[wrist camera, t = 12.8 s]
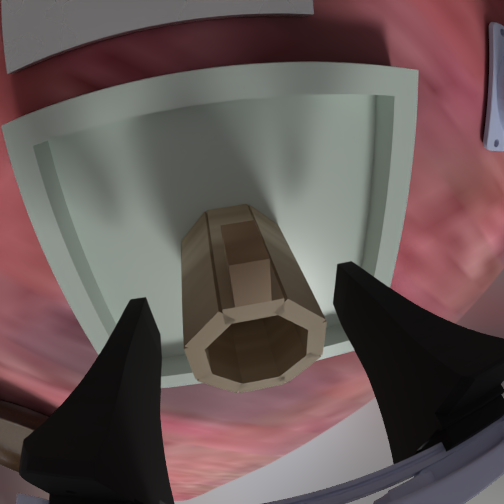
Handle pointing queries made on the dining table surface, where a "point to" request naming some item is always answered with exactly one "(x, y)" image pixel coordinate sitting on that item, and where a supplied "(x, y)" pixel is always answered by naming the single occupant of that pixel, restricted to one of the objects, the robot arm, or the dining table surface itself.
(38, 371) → the dining table surface
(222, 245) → the sleeve
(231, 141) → the tray
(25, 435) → the plant saucer
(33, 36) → the square base plate
